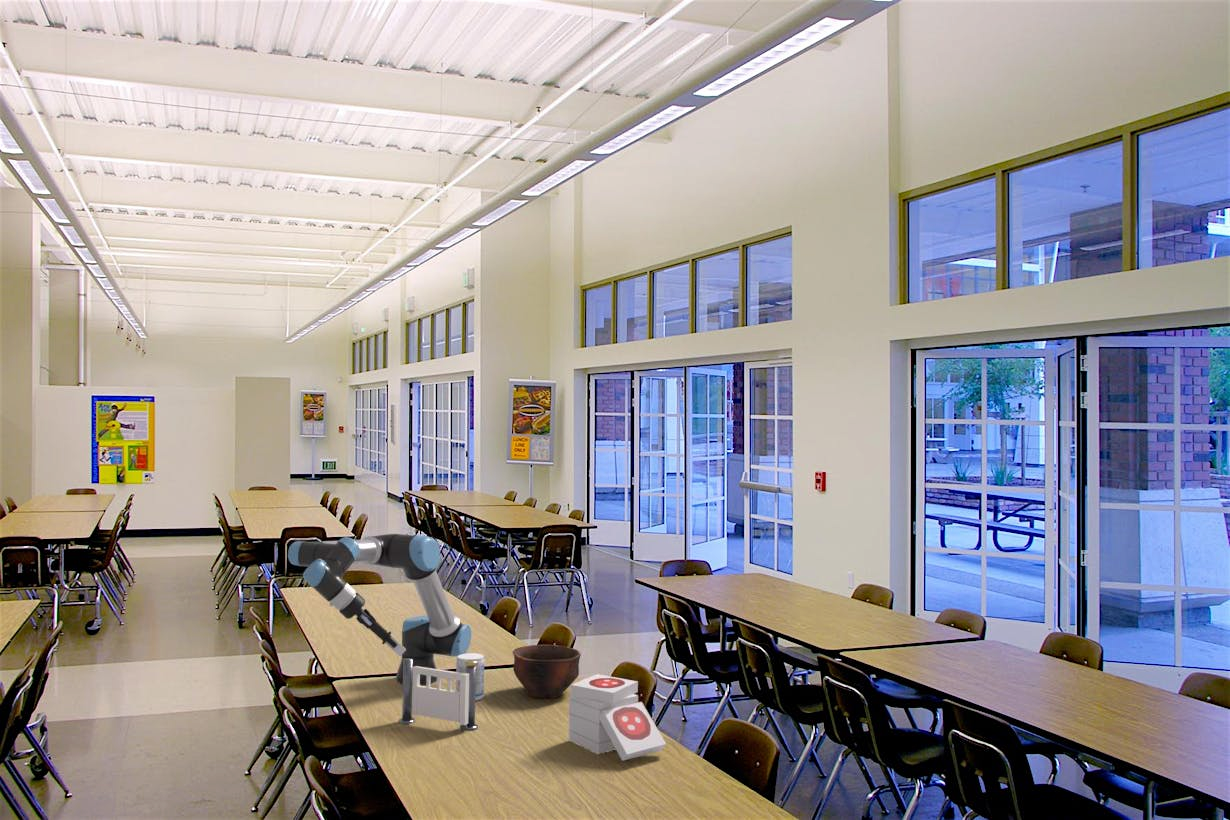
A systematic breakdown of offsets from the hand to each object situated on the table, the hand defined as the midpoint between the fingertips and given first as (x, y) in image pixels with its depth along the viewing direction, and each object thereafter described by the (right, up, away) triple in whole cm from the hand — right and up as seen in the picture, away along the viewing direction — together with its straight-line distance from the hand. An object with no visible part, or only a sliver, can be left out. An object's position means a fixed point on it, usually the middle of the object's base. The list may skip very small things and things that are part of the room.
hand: (402, 652), depth 292 cm
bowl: (+41, -27, +48) cm, 68 cm away
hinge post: (-2, -26, +13) cm, 29 cm away
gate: (+10, -25, +8) cm, 28 cm away
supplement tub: (+14, -26, +40) cm, 50 cm away
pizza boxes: (+65, -27, -7) cm, 71 cm away
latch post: (+19, -26, +8) cm, 33 cm away
